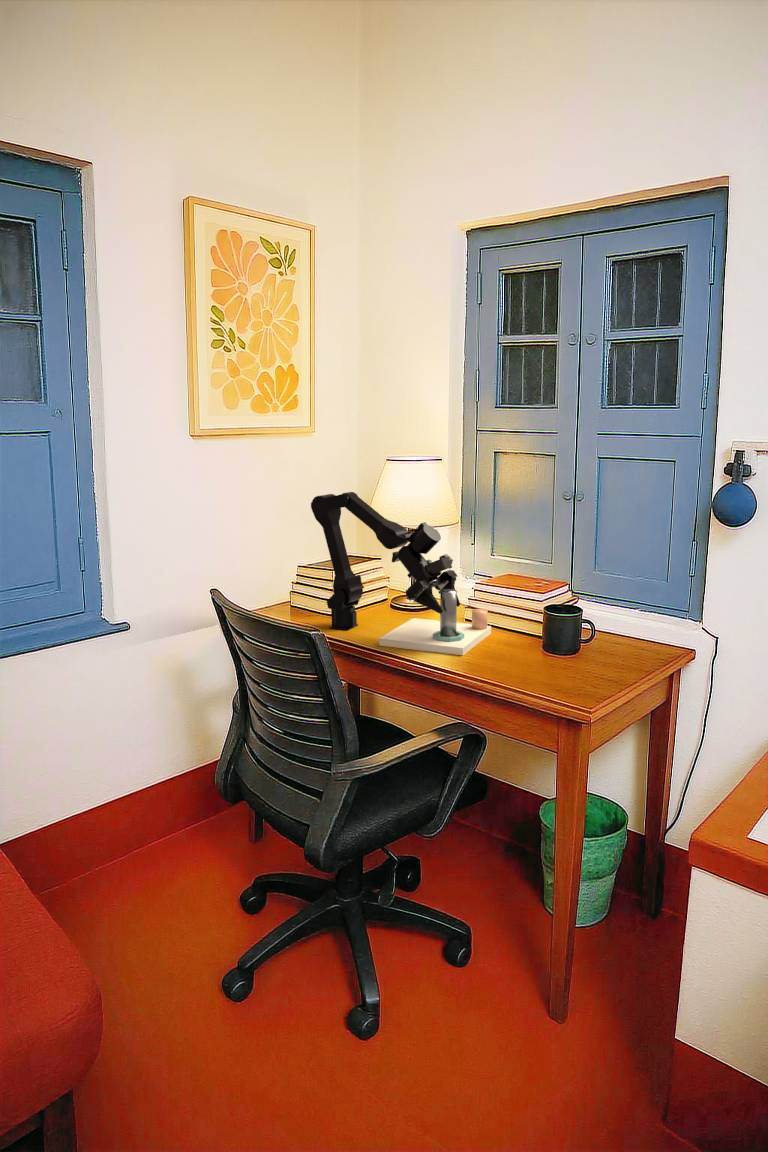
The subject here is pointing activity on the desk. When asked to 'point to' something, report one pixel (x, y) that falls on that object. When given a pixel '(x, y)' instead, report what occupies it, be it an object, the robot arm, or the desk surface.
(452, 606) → the shiny metal cylinder
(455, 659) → the desk surface
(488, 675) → the desk surface
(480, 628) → the peach rounded cylinder
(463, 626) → the board
